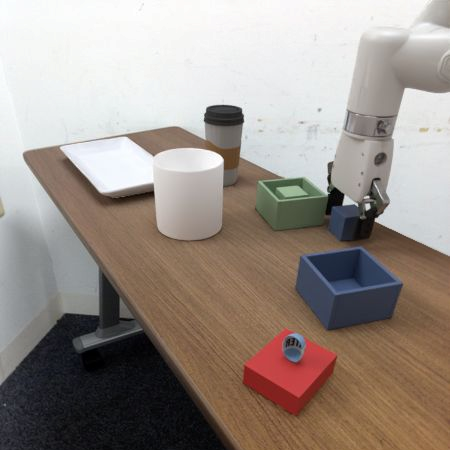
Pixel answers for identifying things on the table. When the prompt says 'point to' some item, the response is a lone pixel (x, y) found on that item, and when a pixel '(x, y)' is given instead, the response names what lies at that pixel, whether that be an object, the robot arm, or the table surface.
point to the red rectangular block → (289, 370)
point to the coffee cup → (225, 137)
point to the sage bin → (291, 204)
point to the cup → (188, 193)
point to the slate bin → (347, 287)
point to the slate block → (343, 221)
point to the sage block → (290, 192)
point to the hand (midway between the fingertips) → (345, 225)
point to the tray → (113, 165)
